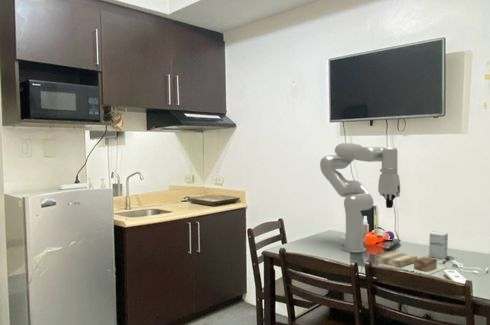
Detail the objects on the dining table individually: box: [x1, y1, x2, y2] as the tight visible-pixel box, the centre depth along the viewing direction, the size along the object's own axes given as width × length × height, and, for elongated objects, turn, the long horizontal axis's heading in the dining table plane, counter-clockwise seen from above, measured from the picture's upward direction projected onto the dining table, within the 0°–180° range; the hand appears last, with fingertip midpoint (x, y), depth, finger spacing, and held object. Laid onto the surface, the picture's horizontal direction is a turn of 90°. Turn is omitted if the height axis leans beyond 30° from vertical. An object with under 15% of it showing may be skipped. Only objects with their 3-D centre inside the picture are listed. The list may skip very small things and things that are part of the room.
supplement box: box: [428, 231, 449, 260], centre depth 203 cm, size 7×7×13 cm
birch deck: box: [375, 250, 418, 269], centre depth 194 cm, size 14×14×3 cm
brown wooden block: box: [414, 256, 438, 272], centre depth 182 cm, size 6×9×4 cm, turn 125°
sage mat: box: [399, 264, 447, 276], centre depth 183 cm, size 13×18×1 cm
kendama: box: [385, 230, 395, 240], centre depth 237 cm, size 6×6×20 cm
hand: (389, 207), depth 197 cm, fingers closed
